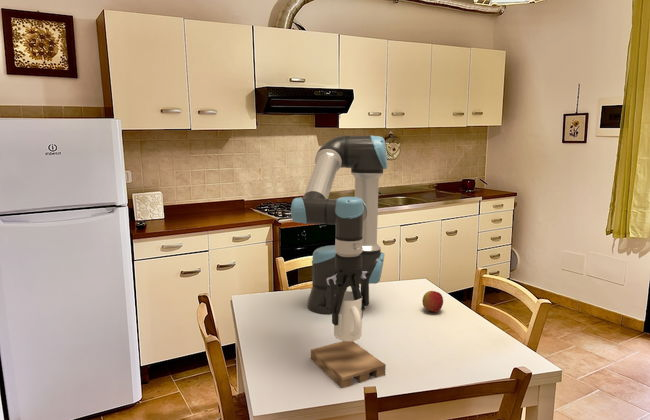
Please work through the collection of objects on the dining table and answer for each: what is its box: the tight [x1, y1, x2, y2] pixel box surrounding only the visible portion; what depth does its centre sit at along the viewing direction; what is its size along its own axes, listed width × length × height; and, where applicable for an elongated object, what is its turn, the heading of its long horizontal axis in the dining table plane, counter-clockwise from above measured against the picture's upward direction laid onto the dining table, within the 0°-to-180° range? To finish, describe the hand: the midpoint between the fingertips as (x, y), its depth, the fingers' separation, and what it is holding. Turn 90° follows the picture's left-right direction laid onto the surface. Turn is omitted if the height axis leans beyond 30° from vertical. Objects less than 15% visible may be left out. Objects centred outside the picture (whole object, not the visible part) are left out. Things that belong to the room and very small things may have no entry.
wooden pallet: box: [310, 341, 387, 389], centre depth 136 cm, size 18×14×3 cm
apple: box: [422, 290, 444, 313], centre depth 176 cm, size 8×8×8 cm
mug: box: [333, 290, 363, 342], centre depth 134 cm, size 8×12×12 cm
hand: (347, 332), depth 134 cm, fingers closed on mug, 6 cm apart
